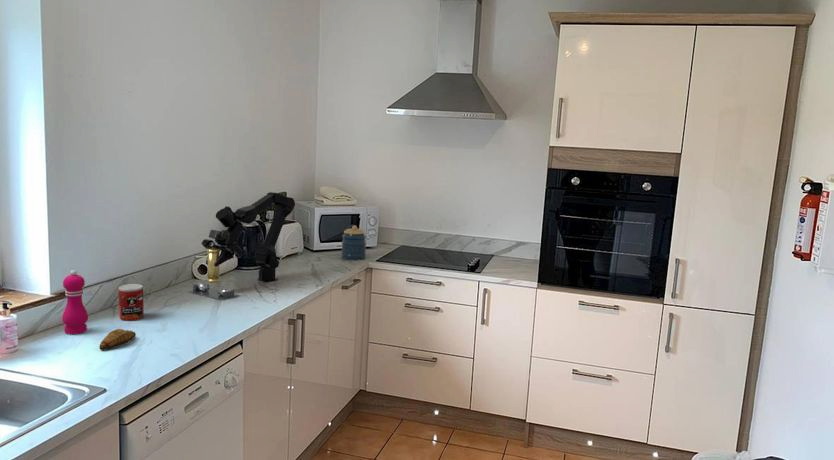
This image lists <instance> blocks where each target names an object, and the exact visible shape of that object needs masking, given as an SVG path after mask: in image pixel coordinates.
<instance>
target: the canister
mask: <svg viewBox="0 0 834 460" xmlns="http://www.w3.org/2000/svg"><path fill="white" fill-rule="evenodd" d="M365 234H366V232H365V231H364V230H363V229H362V228H358V226H357V225H352V227H351V228H346V229H345V230H344V231H343V234H342V235H341V237H342V241H341V258H342V257H343V258H342V259H344V258H347V259H346V260H348V259H361V260H363V259H362V258H366V255H367V254H366V251H367V250H366V249H367V241H366V238H367V235H365Z"/></svg>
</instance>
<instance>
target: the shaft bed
mask: <svg viewBox="0 0 834 460" xmlns="http://www.w3.org/2000/svg"><path fill="white" fill-rule="evenodd" d="M187 292H188V293H191V294H195V295H199V296H202V297H206V298H210V299H215V300H218V301H224V300H228V299H232V298H235V297H238V296H240V294H236V293H235V290H234V289H229V288H225V287H218V289H215V288H211V287H210V285H209V284H208V283H204V282H199V281H198V282H196V283H195V284H192V290H189V291H187Z"/></svg>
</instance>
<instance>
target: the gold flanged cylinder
mask: <svg viewBox="0 0 834 460" xmlns="http://www.w3.org/2000/svg"><path fill="white" fill-rule="evenodd" d="M206 253H207V256H208V265H207V278H206V282H208V283H218V282H221V277H220V265H218V266H217V267H215V266H214V264H215V262H216V261H217V259H218V257H219V256H220V253H221V250H220V248H207V249H206Z"/></svg>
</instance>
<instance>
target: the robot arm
mask: <svg viewBox="0 0 834 460" xmlns="http://www.w3.org/2000/svg"><path fill="white" fill-rule="evenodd" d="M272 205H273V206H274V207H273V209H274V215H273V219H272V221H271V224H270V227H269V229H268V232H267V234H266V237H265V239H264V242H263V243H262V244H257V246H256V249H255V251H254V261H255V264H256V266H257V267H259V270H258V277H257V280H258V281H261V282H264V283H269V282H274V281H278V278H276V269H277V268H278V267H279V265H280V262H279V260H278V259H277V258H276V254H277V252H276V251H277V250H276V245H277V242H278V239H279V236H280V235H281V231H282V229H283V226H284V224H285V221H286V218H287V217H288V216H289V215H290V214H291V213H292V212H293V211H294V209H295V206H296V202H295V199H294V198H293V197H290V196H285V195H282V194H280V193H279V192H272V191H271V192H270V191H269V192H267V194H266V195H264V196H262V197H261V198H260V199H258V200H257V201H255V202H253V203H252V204H250V205H247V206H242V207H239V208H237V209H236V210H235V211H233V210H232V208H231V207H230V206H225V207H224V208H221V209H219V210H218V211H217V212H216V214H215V218H216V219H217V220H218V221H219V223H220V224H221V225H222V226H223V227H224V228H226V229H225V230H224V229H222V230H220V231H219V230H217V229H210V231H209V235H208V238H209V239H208V238H205V239H204V238H203V240H202V242H201V243H200V244H201V245H202V246H203V247H204V249H205V250H207V248H220V253H219V257H218V259H217V261H216V262H215V264H214V266H215V267H217V266H218V265H219V266H220V265H222V264H224V263H225V262H227V261H229V260H231V259H234V258H238V259H241V258H242V257H243V255H244V251H243V249H242V248H241V247H240V246H239V244H238V243H239V240H238V239H239V237H240V236H241V235H242V233H246V234H247V233H248V229H247V225H250V224H252V223H253V222H254V221H255V220H256V219H257V218H258V215H259V214H260V213H261V212H263V211H265V210H266V209H267V208H269V207H270V206H272ZM244 224H247V225H244ZM212 239H213V240H212ZM205 264H206V265H207V266H208V255H207V256H206V261H205Z"/></svg>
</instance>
